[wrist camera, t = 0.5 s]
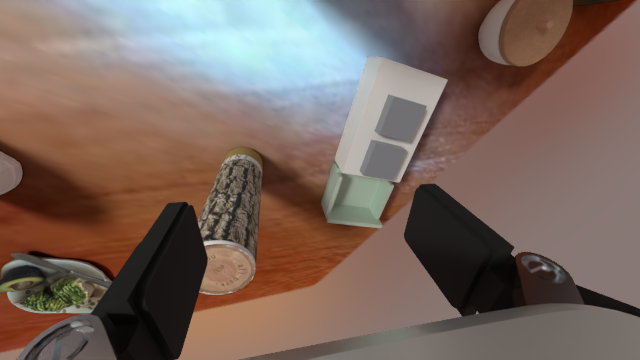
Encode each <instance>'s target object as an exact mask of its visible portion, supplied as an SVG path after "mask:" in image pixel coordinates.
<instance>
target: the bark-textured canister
mask: <svg viewBox="0 0 640 360" xmlns="http://www.w3.org/2000/svg"><path fill="white" fill-rule="evenodd" d="M262 168H263V163H262V159H261V157H260V156H259V154H258V153H257V152H255V151H254V150H252V149H250V148H246V147H239V148H235V149H233V150H231V151H230V152H229V153H228V154H227V156H226V158H225V160H224V162H223V164H222V166H221V169H220V171H219V173H218V176H217V178H216V180H215V182H214V185H213V187H212V189H211V192H210V194H209V196H208V199H207V201H206V203H205V206H204V208H203V210H202V212H201V215H200V217H199V219H198V225H199V228H200V232H201V235H202V239H203V242H204V246H205V249H206V253H207V257H208V263H207V267H206V271H205V274H204V277H203V281H202V284H201V288H200V291H199V292H201V293H205V294H213V295H219V294H227V293H232V292H235V291H237V290H239V289H241V288H243V287H245V286H246V285H247V284H248V283H249V282H250V281H251V280H252V278H253V277H254V274H255V268H256V256H257V241H258V227H259V213H260V198H261V184H262Z"/></svg>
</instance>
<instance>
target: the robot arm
mask: <svg viewBox="0 0 640 360" xmlns="http://www.w3.org/2000/svg"><path fill="white" fill-rule="evenodd" d="M404 238H405V240H406V242H407V244H408V245H409V246H410V248H411V249H412V251H413V252H414V254H415V255H416V256H417V258H418V259H419V261H420V262H421V263H422V265H423V266H424V267H425V269H426V270H427V272H428V273H429V274H430V276H431V277H432V279H433V280H434V282H435V283H436V284H437V286H438V287H439V289H440V290H441V291H442V293H443V294H444V296H445V297H446V298H447V300H448V301H449V303H450V304H451V305H452V306H453V307H454V308H457V310H458V311H459V312H460V314H461V315H462V317H459V318H453V319H448V320H442V321H437V322H432V323H426V324H421V325H415V326H411V327H405V328H400V329H395V330H389V331H384V332H379V333H374V334H368V335H363V336H358V337H352V338H348V339H342V340H337V341H332V342H327V343H321V344H316V345H311V346H307V347H301V348H296V349H291V350H286V351H281V352H275V353H271V354H265V355H260V356H255V357H250V358H245V359H240V360H640V309H638V308H636V307H634V306H631V305H629V304H625V303H623V302H620V301H618V300H615V299H613V298H610V297H607V296H605V295H602V294H599V293H597V292H594V291H591V290H589V289H586V288H583V287H580V286H578V285H575V283H574V281H573V279H572V277H571V276H570V274H569V273H568V272H567V271H566V270H565V269H564V268H563V267H562V266H560V265H559V264H557V263H556V262H554V261H552V260H551V259H549V258H547V257H544V256H542V255H539V254H536V253H531V252H521V253H518V254H517V255H516V256H515V257H514V256H512V255H511V252H512V250H513V249H514V246H512V245H511V244H510V243H509V242H507V241H506V240H505V239H504V238H502V237H501V236H500V235H499V234H497V233H496V232H495V231H494V230H492V229H491V228H490V227H489V226H487V225H486V224H485V223H484V222H482V221H481V220H480V219H478V218H477V217H476V216H475V215H473V214H472V213H471V212H470V211H469V210H467V209H466V208H465V207H464V206H462V205H461V204H460V203H459V202H457V201H456V200H455V199H454V198H452V197H451V196H450V195H449V194H447V193H446V192H445V191H444V190H442V189H441V188H440V187H439V186H437V185H436V184H422V185H420V186H419V188H417V189H416V191H415V195H414V199H413V202H412V206H411V210H410V214H409V218H408V221H407V225H406V229H405V233H404ZM207 263H208V257H207V253H206V249H205V246H204V242H203V239H202V235H201V232H200V228H199V225H198V221H197V218H196V214H195V211H194V208H193V206H192V205H188V204H187V202H177V203H168V204H167V205H166V207H165V208H164V210H163V211H162V213H161V214H160V216H159V217H158V218H157V220H156V221H155V223H154V224H153V226H152V227H151V229H150V230H149V232H148V233H147V235H146V236H145V238H144V239H143V241H142V242H140V243H139V245H138V246H137V247H136V248H135V250H134V251H133V253H132V254H131V256H130V257H129V259H128V260H127V262H126V263H125V264H124V266H123V267H122V269H121V270H120V272H119V273H118V275H117V276H116V278H115V279H114V280H113V282H112V283H111V285H110V286H109V288H108V289H107V291H106V292H105V294H104V295H103V296H102V298H101V299H100V301H99V302H98V304H97V305H96V307H95V308H94V310H93V311H92V312H91V314H84V315H78V316H74V317H71V318H68V319H66V320H64V321H61V322H59V323H57V324H55V325H54V326H52V327H50V328H49V329H47V330H46V331H44V332H43V333H41V334H40V335H39V336H38V337H36V338H35V339H34V340H33V341H32V342H30V343H29V344H28V345H27V347H26V348H25V349H24V350H23V351H22V352H21V353H20V355H19V356H18V358H17V359H16V360H175V359H178V358H179V356H180V354H181V351H182V348H183V345H184V341H185V338H186V334H187V331H188V328H189V324H190V321H191V318H192V314H193V311H194V308H195V304H196V301H197V298H198V294H199V291H200V288H201V284H202V281H203V277H204V274H205V271H206V267H207ZM477 311H478V312H479V314H476V312H477ZM474 314H475V315H474ZM469 315H470V316H469Z"/></svg>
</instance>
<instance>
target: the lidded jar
mask: <svg viewBox="0 0 640 360" xmlns="http://www.w3.org/2000/svg"><path fill="white" fill-rule="evenodd" d="M572 8H573V0H500V1H499V2H498V3H497V4H496V5H495V6H494V7H493V8H492V9H491V10H490V11H489V13H488V14H487V16H486V17H485V19H484V21H483V22H482V24H481V26H480V29H479V33H478V41H479V45H480V49H481V51H482V52H483V54H484V55H485V56H486V57H487V58H488V59H489V60H491V61H493V62H496V63H500V64H504V65H513V66H529V65H532V64H534V63H536V62H538V61H539V60H541V59H542V58H544V57H545V56H546V55H547V54H549V53H550V52H551V51H552V50H553V48H554V47H555V46H556V45H557V43H558V42H559V41H560V39H561V38H562V36H563V34H564V32H565V30H566V28H567V26H568V24H569V21H570V18H571V14H572Z"/></svg>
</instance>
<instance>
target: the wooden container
mask: <svg viewBox="0 0 640 360" xmlns="http://www.w3.org/2000/svg"><path fill="white" fill-rule="evenodd" d="M612 1H619V0H573V5H578V6H581V5H590V4H597V3H604V2H612Z"/></svg>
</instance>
